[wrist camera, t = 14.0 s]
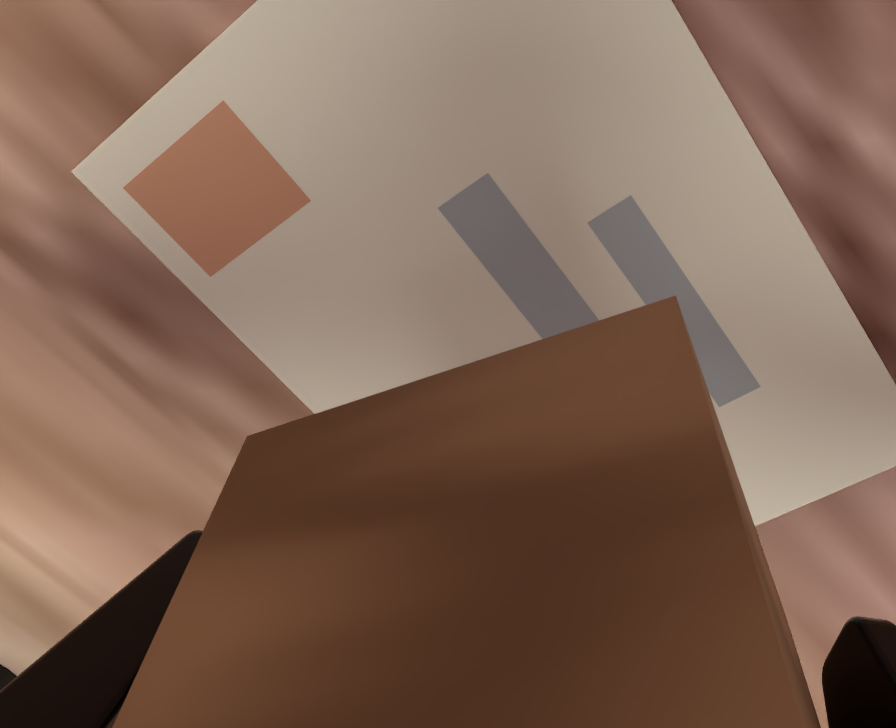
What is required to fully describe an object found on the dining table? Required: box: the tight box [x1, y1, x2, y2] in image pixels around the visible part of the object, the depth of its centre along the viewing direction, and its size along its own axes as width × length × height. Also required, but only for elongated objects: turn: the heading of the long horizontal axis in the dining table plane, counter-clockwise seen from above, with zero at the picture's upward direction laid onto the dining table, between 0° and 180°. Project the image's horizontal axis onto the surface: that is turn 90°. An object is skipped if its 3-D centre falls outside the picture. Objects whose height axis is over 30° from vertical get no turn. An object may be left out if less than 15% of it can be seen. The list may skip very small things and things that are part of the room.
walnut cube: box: [112, 295, 821, 728], centre depth 8 cm, size 5×5×5 cm
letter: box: [71, 0, 896, 526], centre depth 14 cm, size 13×9×1 cm
